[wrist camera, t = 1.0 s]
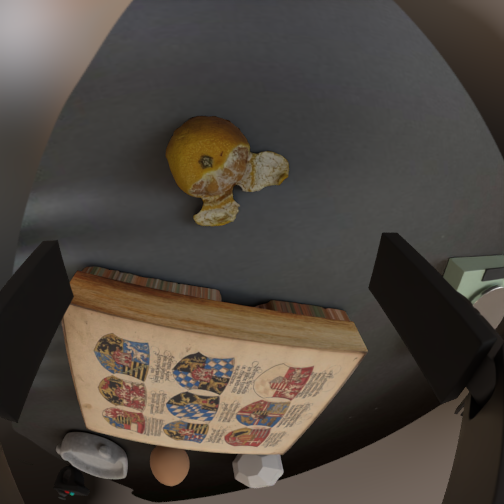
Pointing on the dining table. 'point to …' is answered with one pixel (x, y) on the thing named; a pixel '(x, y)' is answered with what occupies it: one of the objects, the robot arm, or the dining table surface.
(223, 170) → the fruit
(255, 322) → the book
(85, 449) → the dish
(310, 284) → the dining table surface
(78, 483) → the controller
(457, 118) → the dining table surface
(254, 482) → the chicken leg
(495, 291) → the scale pan
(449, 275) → the scale
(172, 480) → the egg
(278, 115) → the dining table surface
